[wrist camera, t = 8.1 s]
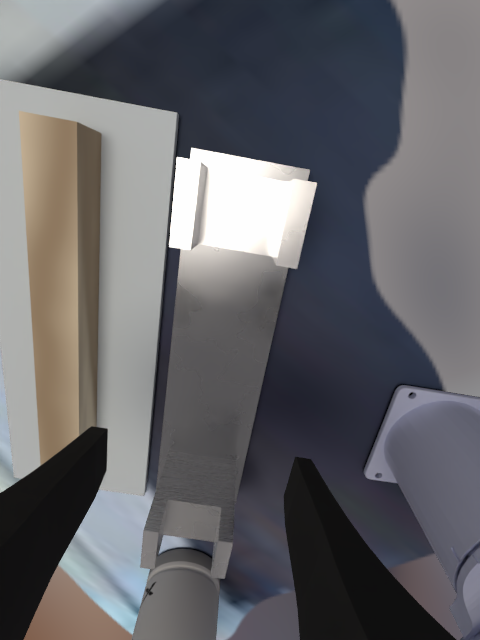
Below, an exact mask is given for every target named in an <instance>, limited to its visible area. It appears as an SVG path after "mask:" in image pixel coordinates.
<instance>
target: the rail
mask: <svg viewBox="0 0 480 640" xmlns="http://www.w3.org/2000/svg"><path fill="white" fill-rule="evenodd" d="M19 122H20V139H21V155H22V171H23V187H24V204H25V220H26V236H27V253H28V269H29V285H30V301H31V318H32V334H33V350H34V366H35V383H36V399H37V415H38V431H39V448H40V464H41V465H42V464H43V463H45V462H46V461H47V460H49V459H50V458H51V457H53V456H54V455H55V454H57V453H58V452H59V451H61V450H62V449H63V448H64V447H66V446H67V445H68V444H70V443H71V442H72V441H73V440H75V439H76V438H77V437H78V436H80V435H81V434H82V433H83V432H85V431H86V430H87V429H88V428H90V427H91V426H93V427H97V370H98V311H99V252H100V193H101V133H100V132H98V131H96V130H93V129H91V128H89V127H87V126H85V125H83V124H81V123H79V122H76V121H70V120H65V119H60V118H54V117H49V116H44V115H39V114H33V113H28V112H23V111H19Z"/></svg>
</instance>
